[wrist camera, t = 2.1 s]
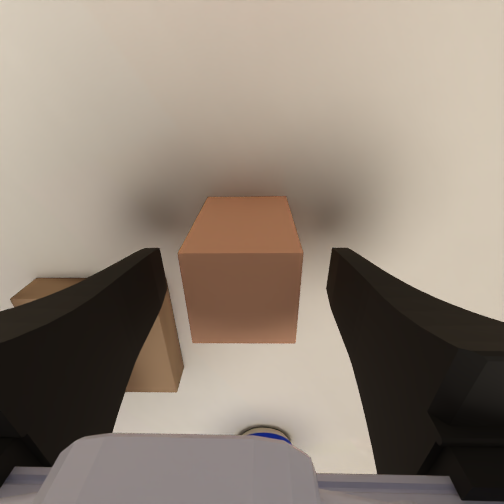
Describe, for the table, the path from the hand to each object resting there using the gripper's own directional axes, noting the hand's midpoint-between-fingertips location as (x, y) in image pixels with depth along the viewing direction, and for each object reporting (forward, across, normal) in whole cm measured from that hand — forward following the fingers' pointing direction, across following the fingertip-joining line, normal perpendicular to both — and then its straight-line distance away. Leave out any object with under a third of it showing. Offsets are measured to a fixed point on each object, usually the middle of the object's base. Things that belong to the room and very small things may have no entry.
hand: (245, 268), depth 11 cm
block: (+4, 0, 0) cm, 4 cm away
